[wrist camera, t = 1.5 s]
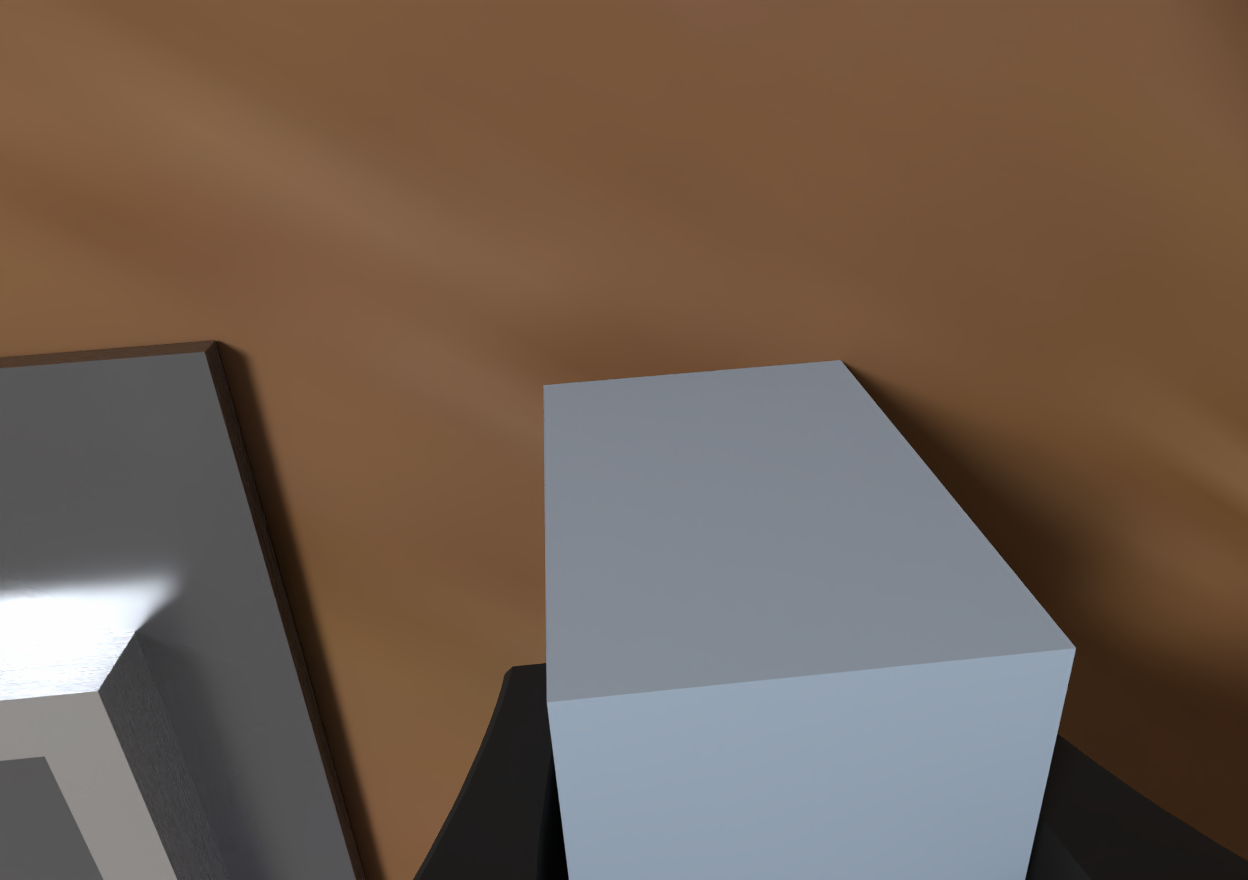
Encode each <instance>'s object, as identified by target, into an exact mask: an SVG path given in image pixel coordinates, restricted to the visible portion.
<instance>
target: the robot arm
mask: <svg viewBox="0 0 1248 880" xmlns="http://www.w3.org/2000/svg"><path fill="white" fill-rule="evenodd" d="M413 880H569V875H568V867H567V859H566V851H565V843H564V835H563V828H562V820H561V812H560V804H559V796H558V788H557V780H556V772H555V764H554V756H553V748H552V740H551V732H550V724H549V716H548V708H547V672H546V663H544V664H534V665H524V666H514V667H512V668H511V669H510V670H509V671H508V672H507V673H506V674H505V676H504V680H503V684H502V688H501V691H500V694H499V697H498V700H497V704H496V707H495V709H494V712H493V715H492V718H491V721H490V723H489V726H488V728H487V731H486V733H485V736H484V738H483V741H482V743H481V746H480V748H479V751H478V753H477V755H476V757H475V760H474V762H473V764H472V766H471V768H470V771H469V773H468V775H467V777H466V779H465V782H464V784H463V786H462V788H461V791H460V793H459V795H458V797H457V799H456V801H455V803H454V805H453V807H452V809H451V811H450V813H449V815H448V817H447V818H446V820H445V822H444V824H443V826H442V828H441V830H440V832H439V834H438V836H437V837H436V839H435V841H434V843H433V845H432V847H431V849H430V851H429V853H428V854H427V856H426V858H425V860H424V862H423V864H422V865H421V867H420V869H419V870H418V872H417V874H416V876H415V877H414V879H413ZM1025 880H1248V861H1246V860H1244V859H1243V858H1241V857H1239V856H1238V855H1236V854H1234V853H1232V852H1231V851H1229V850H1227V849H1226V848H1224V847H1222V846H1221V845H1219V844H1217V843H1216V842H1214V841H1213V840H1211V839H1209V838H1208V837H1206V836H1205V835H1203V834H1201V833H1200V832H1198V831H1197V830H1195V829H1194V828H1192V827H1190V826H1189V825H1187V824H1186V823H1184V822H1182V821H1181V820H1179V819H1178V818H1176V817H1174V816H1173V815H1171V814H1170V813H1168V812H1167V811H1165V810H1163V809H1162V808H1160V807H1159V806H1157V805H1156V804H1154V803H1153V802H1151V801H1150V800H1148V799H1147V798H1145V797H1144V796H1142V795H1141V794H1139V793H1138V792H1136V791H1135V790H1134V789H1132V788H1131V787H1129V786H1128V785H1127V784H1125V783H1124V782H1122V781H1121V780H1120V779H1118V778H1117V777H1115V776H1114V775H1113V774H1111V773H1110V772H1108V771H1107V770H1106V769H1104V768H1103V767H1101V766H1100V765H1099V764H1097V763H1096V762H1094V761H1093V760H1092V759H1090V758H1089V757H1087V756H1086V755H1085V754H1083V753H1082V752H1081V751H1079V750H1078V749H1077V748H1076V747H1074V746H1073V745H1072V744H1070V743H1069V742H1068V741H1066V740H1065V739H1064V738H1062V737H1061V736H1060V735H1058V734H1057V737H1056V741H1055V746H1054V751H1053V755H1052V760H1051V764H1050V769H1049V773H1048V778H1047V782H1046V787H1045V791H1044V796H1043V800H1042V805H1041V810H1040V814H1039V819H1038V823H1037V828H1036V832H1035V837H1034V841H1033V846H1032V850H1031V855H1030V859H1029V864H1028V869H1027V873H1026V878H1025Z"/></svg>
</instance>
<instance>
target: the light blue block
mask: <svg viewBox="0 0 1248 880" xmlns="http://www.w3.org/2000/svg"><path fill="white" fill-rule="evenodd" d="M544 468H545V570H546V672H547V708H548V716H549V724H550V732H551V740H552V748H553V756H554V764H555V772H556V780H557V788H558V796H559V804H560V812H561V820H562V828H563V835H564V843H565V851H566V859H567V867H568V875H569V880H1025V878H1026V873H1027V869H1028V864H1029V859H1030V855H1031V850H1032V846H1033V841H1034V837H1035V832H1036V828H1037V823H1038V819H1039V814H1040V810H1041V805H1042V800H1043V796H1044V791H1045V787H1046V782H1047V778H1048V773H1049V769H1050V764H1051V760H1052V755H1053V751H1054V746H1055V741H1056V737H1057V732H1058V728H1059V723H1060V719H1061V714H1062V710H1063V705H1064V701H1065V696H1066V692H1067V687H1068V682H1069V678H1070V673H1071V669H1072V664H1073V660H1074V655H1075V651H1076V647H1075V646H1074V645H1073V644H1072V643H1071V641H1070V640H1069V639H1068V638H1067V636H1066V635H1065V634H1064V633H1063V632H1062V630H1061V629H1060V628H1059V627H1058V625H1057V624H1056V623H1055V622H1054V621H1053V619H1052V618H1051V617H1050V616H1049V614H1048V613H1047V612H1046V611H1045V610H1044V608H1043V607H1042V606H1041V605H1040V603H1039V602H1038V601H1037V600H1036V599H1035V597H1034V596H1033V595H1032V594H1031V592H1030V591H1029V590H1028V589H1027V587H1026V586H1025V585H1024V584H1023V583H1022V581H1021V580H1020V579H1019V578H1018V576H1017V575H1016V574H1015V573H1014V572H1013V570H1012V569H1011V568H1010V567H1009V565H1008V564H1007V563H1006V562H1005V561H1004V559H1003V558H1002V557H1001V556H1000V554H999V553H998V552H997V551H996V550H995V548H994V547H993V546H992V545H991V543H990V542H989V541H988V540H987V539H986V537H985V536H984V535H983V534H982V532H981V531H980V530H979V529H978V528H977V526H976V525H975V524H974V523H973V521H972V520H971V519H970V518H969V517H968V515H967V514H966V513H965V512H964V510H963V509H962V508H961V507H960V506H959V504H958V503H957V502H956V501H955V499H954V498H953V497H952V496H951V495H950V493H949V492H948V491H947V490H946V488H945V487H944V486H943V485H942V483H941V482H940V481H939V480H938V479H937V477H936V476H935V475H934V474H933V472H932V471H931V470H930V469H929V468H928V466H927V465H926V464H925V463H924V461H923V460H922V459H921V458H920V457H919V455H918V454H917V453H916V452H915V450H914V449H913V448H912V447H911V446H910V444H909V443H908V442H907V441H906V439H905V438H904V437H903V436H902V435H901V433H900V432H899V431H898V430H897V428H896V427H895V426H894V425H893V424H892V422H891V421H890V420H889V419H888V417H887V416H886V415H885V414H884V413H883V411H882V410H881V409H880V408H879V406H878V405H877V404H876V403H875V402H874V400H873V399H872V398H871V397H870V395H869V394H868V393H867V392H866V391H865V389H864V388H863V387H862V386H861V384H860V383H859V382H858V381H857V380H856V378H855V377H854V376H853V375H852V373H851V372H850V371H849V370H848V368H847V367H846V366H845V365H844V364H843V362H842V361H841V360H838V361H826V362H814V363H802V364H790V365H778V366H766V367H755V368H743V369H731V370H719V371H707V372H695V373H683V374H672V375H660V376H648V377H636V378H624V379H612V380H600V381H589V382H577V383H565V384H553V385H544Z"/></svg>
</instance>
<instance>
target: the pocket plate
mask: <svg viewBox="0 0 1248 880" xmlns="http://www.w3.org/2000/svg"><path fill="white" fill-rule="evenodd" d="M0 880H366V878H365V875H364V871H363V868H362V864H361V861H360V857H359V853H358V850H357V846H356V843H355V839H354V835H353V832H352V828H351V825H350V821H349V818H348V814H347V810H346V807H345V803H344V800H343V796H342V792H341V789H340V785H339V782H338V778H337V775H336V771H335V767H334V764H333V760H332V757H331V753H330V749H329V746H328V742H327V739H326V735H325V732H324V728H323V724H322V721H321V717H320V714H319V710H318V706H317V703H316V699H315V696H314V692H313V689H312V685H311V681H310V678H309V674H308V671H307V667H306V663H305V660H304V656H303V653H302V649H301V646H300V642H299V638H298V635H297V631H296V628H295V624H294V620H293V617H292V613H291V610H290V606H289V603H288V599H287V595H286V592H285V588H284V585H283V581H282V577H281V574H280V570H279V567H278V563H277V560H276V556H275V552H274V549H273V545H272V542H271V538H270V535H269V531H268V527H267V524H266V520H265V517H264V513H263V509H262V506H261V502H260V499H259V495H258V492H257V488H256V484H255V481H254V477H253V474H252V470H251V466H250V463H249V459H248V456H247V452H246V449H245V445H244V441H243V438H242V434H241V431H240V427H239V423H238V420H237V416H236V413H235V409H234V406H233V402H232V398H231V395H230V391H229V388H228V384H227V380H226V377H225V373H224V370H223V366H222V363H221V359H220V355H219V352H218V348H217V345H216V341H215V340H213V341H201V342H188V343H176V344H164V345H151V346H139V347H126V348H114V349H101V350H89V351H77V352H64V353H52V354H39V355H27V356H14V357H2V358H0Z"/></svg>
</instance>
